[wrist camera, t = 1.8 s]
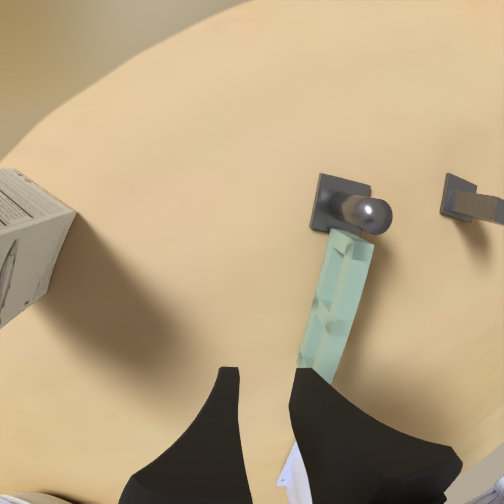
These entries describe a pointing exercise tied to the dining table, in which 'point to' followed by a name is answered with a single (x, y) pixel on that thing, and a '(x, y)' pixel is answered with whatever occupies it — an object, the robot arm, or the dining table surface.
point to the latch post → (470, 202)
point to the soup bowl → (33, 498)
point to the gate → (335, 302)
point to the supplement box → (27, 241)
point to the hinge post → (348, 207)
